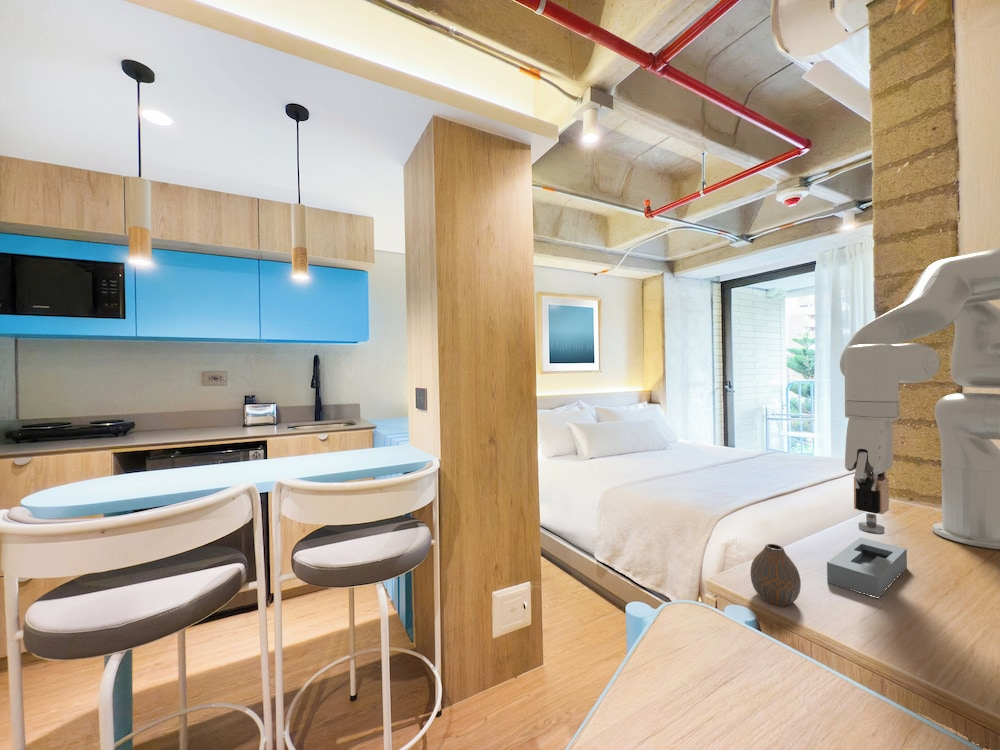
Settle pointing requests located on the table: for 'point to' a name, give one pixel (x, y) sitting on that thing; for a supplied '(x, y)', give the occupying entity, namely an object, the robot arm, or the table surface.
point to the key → (883, 490)
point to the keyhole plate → (867, 566)
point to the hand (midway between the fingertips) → (871, 507)
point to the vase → (775, 576)
